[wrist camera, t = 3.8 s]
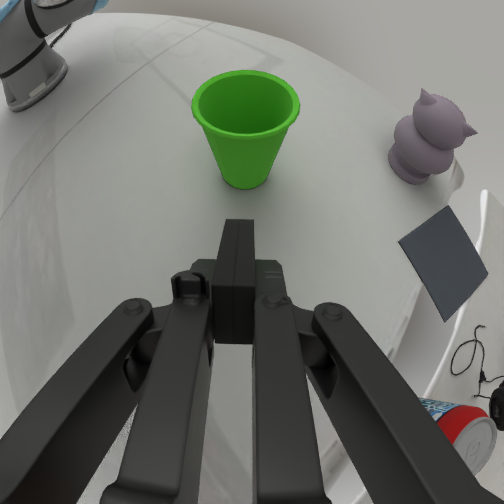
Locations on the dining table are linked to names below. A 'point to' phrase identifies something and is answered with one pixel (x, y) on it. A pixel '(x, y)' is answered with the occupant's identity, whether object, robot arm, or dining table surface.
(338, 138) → the dining table surface
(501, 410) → the headphones
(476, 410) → the beverage can
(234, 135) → the cup
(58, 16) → the robot arm
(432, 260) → the placemat
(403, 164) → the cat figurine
